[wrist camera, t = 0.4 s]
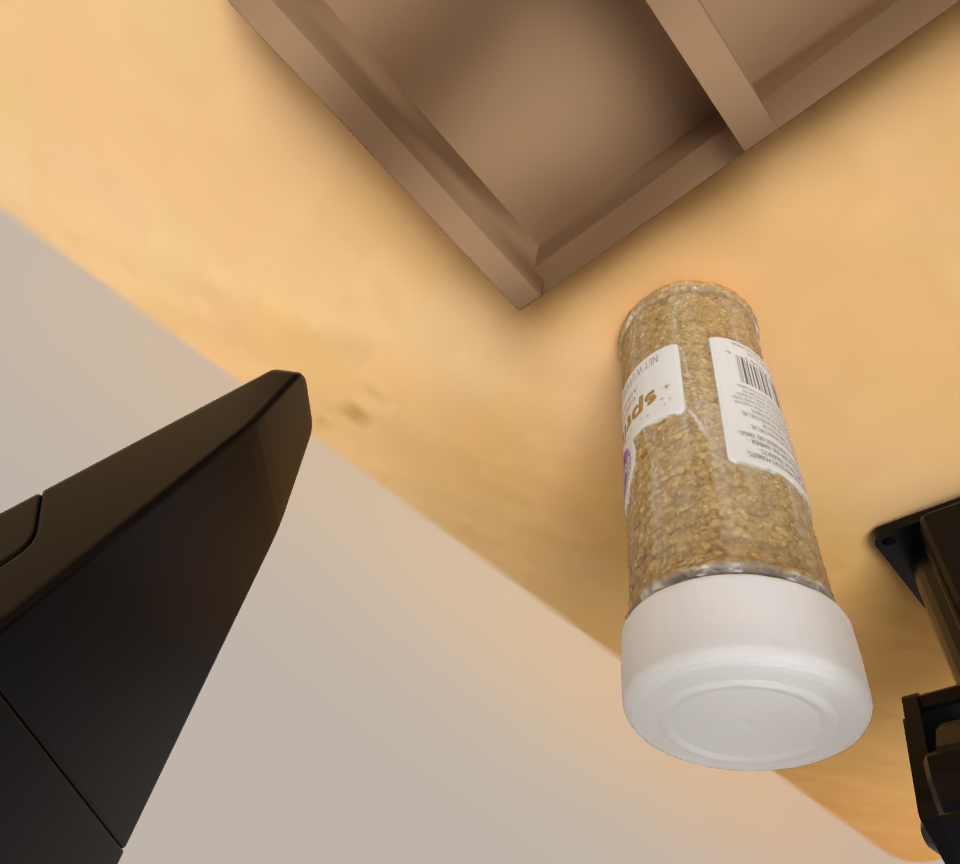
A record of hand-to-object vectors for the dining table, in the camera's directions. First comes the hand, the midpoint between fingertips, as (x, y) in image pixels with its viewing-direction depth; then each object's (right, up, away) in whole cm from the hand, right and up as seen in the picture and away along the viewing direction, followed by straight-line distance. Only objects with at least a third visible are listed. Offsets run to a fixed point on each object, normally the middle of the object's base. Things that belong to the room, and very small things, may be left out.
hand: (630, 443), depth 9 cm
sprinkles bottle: (+5, +3, +14) cm, 15 cm away
